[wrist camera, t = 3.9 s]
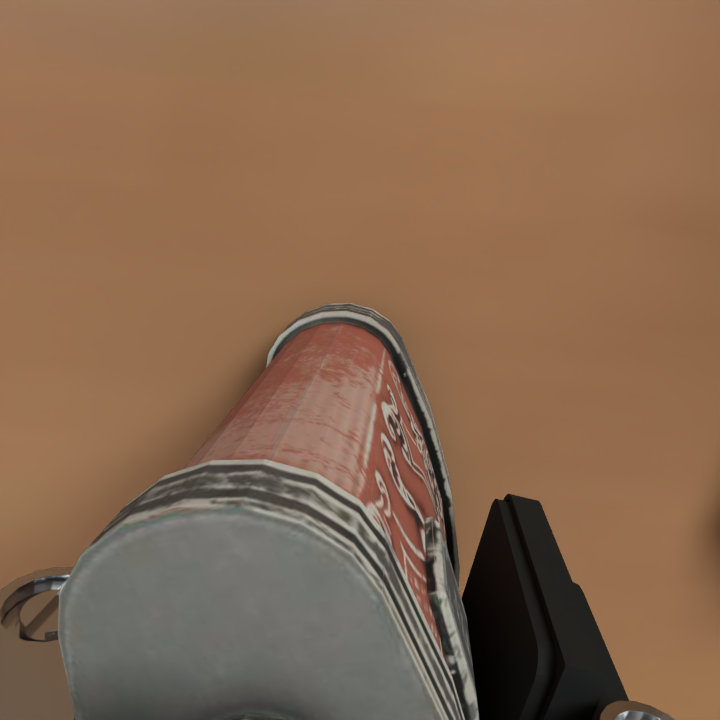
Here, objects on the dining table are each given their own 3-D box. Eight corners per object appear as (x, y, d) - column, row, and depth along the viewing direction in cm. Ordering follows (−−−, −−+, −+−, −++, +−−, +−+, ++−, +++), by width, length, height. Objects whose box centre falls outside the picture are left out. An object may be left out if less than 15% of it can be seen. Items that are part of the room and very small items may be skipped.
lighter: (479, 633, 13) (660, 1847, 4) (334, 649, 14) (147, 1754, 4) (413, 286, 11) (417, 964, 1) (244, 320, 11) (-612, 993, 2)
